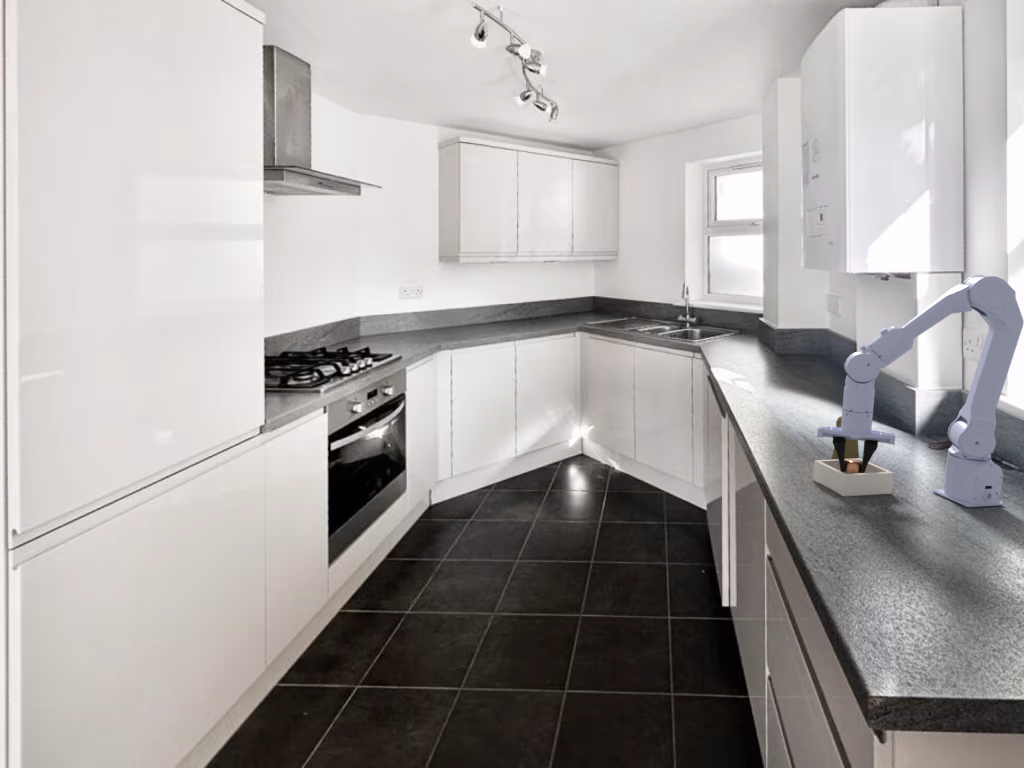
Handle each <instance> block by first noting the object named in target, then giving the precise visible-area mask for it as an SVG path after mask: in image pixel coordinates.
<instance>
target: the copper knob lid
mask: <svg viewBox="0 0 1024 768" xmlns="http://www.w3.org/2000/svg"><path fill="white" fill-rule="evenodd" d="M861 465H862V462H861V461H859V460H854V459H847V460H845V465H844V472H845V473H847V474H857V473H861Z"/></svg>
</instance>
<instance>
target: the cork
mask: <svg viewBox="0 0 1024 768" xmlns="http://www.w3.org/2000/svg"><path fill="white" fill-rule="evenodd" d="M841 421H842V415H841V416H838V417H837V419H836V423H835V427H841ZM833 447H834V446H833ZM855 458H860V455H859V440H851V439H846V444H845V459H855ZM834 459H838V455H837V452H836V450H835V447H834V448H833V451H832V455H831V459H830V460H834Z"/></svg>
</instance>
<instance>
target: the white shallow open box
mask: <svg viewBox="0 0 1024 768" xmlns="http://www.w3.org/2000/svg"><path fill="white" fill-rule="evenodd" d="M862 459H863V458H861V457H859V458H855V459H854V460H859V461H861V462H862ZM845 460H847V459H845ZM812 475H813V477H812V481H814V482H816V483H818V484H819V483H820V485H821V484H822V485H821V486H823V485H824V487H825V486H826V488H827V487H828V488H827V489H829V488H830V489H829V490H831V489H832V490H833V492H834V491H835V492H834V493H836V492H837V494H838V495H840V496H842V497H853V496H854V497H855V496H871V495H873V496H874V495H890V494H892V493H893V485H894V484H893V482H894V472H892V471H890V470H888V469H886V468H883V467H881V466H878V465H877V464H874V463H872V462H870V461H869V462H868V465H867V467H866V470H865V473H857V474H847V473H845V472H844V473H843V472H841V471H840V463H839V459H834V460H831V459H818V460H817V459H815V460H814V461H813V474H812ZM832 490H831V491H832Z"/></svg>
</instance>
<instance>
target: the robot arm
mask: <svg viewBox="0 0 1024 768" xmlns="http://www.w3.org/2000/svg"><path fill="white" fill-rule="evenodd" d="M1016 296H1017V295H1016V291H1015V289H1014V288H1012V286H1011V285H1010V284H1009V283H1008V282H1007V281H1006V280H1004V279H1003V278H1001V277H999V276H994V275H993V276H990V275H989V276H986V275H981V274H979V275H977V274H976V275H973V276H970V277H968V278H966V279H965V280H964V281H963V282H962V283H960V284H957V285H955V286H954V287H952V288H950V289H949V290H947V291H946V292H945V293H944V294H942V295H940V296H939V297H938V298H937V299H936V300H935V301H932V303H931V304H929V305H928V306H927V307H925V308H924V309H923V310H921V311H920V312H919V313H918V314H917V315H915V317H913V318H912V319H910V320H909V321H908V322H907V323H905V324H904V325H902V326H890V327H889V328H888V329H887V327H883V328H882V329H880V331H879V333H880V334H879V335H878V336H877V337H875V338H874V339H873V340H871V341H870V342H868V344H866V345H864V344H862V345H861V346H859V349H860V351H856V352H853V353H850V354H849V356H848V357H847V358H846V360H845V362H844V364H843V367H844V371H845V373H846V374H847V375H846V377H845V380H844V381H845V382H844V384H845V385H844V388H843V398H842V410H841V416H842V421H841V427H837V426H820V425H818V426H817V432H816V433H817V434H816V438H832V444H833V447H835V450H836V452H837V455H838V459H839V463H840V471H841V472H843V473H844V465H845V444H846V439H851V440H858V441H863V450H862V451H863V452H862V458H861V459H862V465H861V473H865V470H866V467H867V465H868V462H870V460H871V459H872V457H873V455H874V454H875V452H876V451H877V449H878V447H879V446H878V445H879V444H878V443H882V444H883V443H884V444H888V445H893V446H894V445H895V444H896V433H892V432H885V431H879V430H873V429H872V428H873V427H872V426H873V416H874V415H873V414H874V404H875V393H876V389H875V384H876V379H877V377H878V376H879V374H880V371H881V369H885V368H886V367H887V366H890V365H891V364H893V362H895V361H897V360H898V359H900V357H902V356H903V355H905V354H907V353H908V352H909V351H910V350H912V349H913V344H914V340H915V339H916V338H917V337H919V336H921V335H922V334H924V333H925V332H926V331H928V330H930V329H931V328H933V327H934V326H936V325H937V324H939V323H940V322H942V321H944V320H945V319H946V318H947V317H949V316H950V315H953V314H960V313H966V312H973V310H974V311H975V312H977V313H978V314H979V316H980V317H981V318H982V319H983V320H984V322H985V323H986V324H987V326H988V331H987V334H986V337H985V340H984V344H983V347H982V350H981V353H980V356H979V360H978V363H977V366H976V369H975V372H974V375H973V379H972V381H971V385H970V387H969V388H970V389H969V391H968V394H967V396H966V397H967V398H966V401H965V403H964V404H963V406H962V407H961V409H960V410H959V412H958V414H957V417H956V418H955V420H953V421H952V422H951V423H950V425H949V426H948V430H947V437H948V439H949V441H950V442H951V443H952V444H951V445H950V447H949V448H948V450H947V457H946V466H945V473H944V474H945V475H944V485H943V488H939V489H937V488H936V489H933V490H932V492H933V493H935V494H937V495H939V496H941V497H943V498H946V499H947V500H951V501H953V502H956V503H957V504H960V505H962V506H964V507H967V508H977V507H978V508H979V507H993V506H995V507H996V506H1003V505H1004V502H1003V501H1001V496H1002V487H1003V481H1004V473H1003V469H1002V468H1001V466H999V465H998V464H997V463H995V462H994V460H992V453H993V452H994V450H995V448H996V445H997V439H996V435H995V429H996V426H997V418H996V411H997V407H998V404H999V401H1000V398H1001V395H1002V392H1003V388H1004V385H1005V383H1006V379H1007V376H1008V373H1009V370H1010V368H1011V364H1012V361H1013V359H1014V355H1015V352H1016V349H1017V345H1018V342H1019V339H1020V336H1021V333H1022V330H1023V327H1024V318H1023V315H1022V312H1021V309H1020V307H1019V304H1018V301H1017V297H1016Z"/></svg>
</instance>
